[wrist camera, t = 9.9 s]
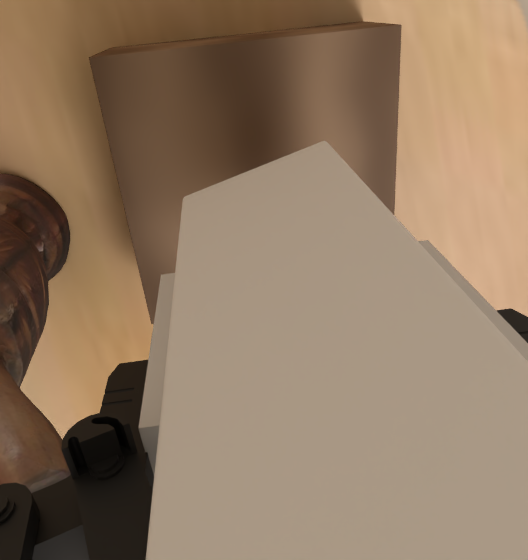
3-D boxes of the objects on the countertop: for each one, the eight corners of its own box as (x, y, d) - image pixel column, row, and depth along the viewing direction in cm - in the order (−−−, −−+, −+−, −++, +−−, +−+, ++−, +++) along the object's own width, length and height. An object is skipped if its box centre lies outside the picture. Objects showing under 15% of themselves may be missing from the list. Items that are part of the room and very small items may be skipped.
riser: (158, 275, 34) (151, 323, 29) (110, 48, 27) (88, 57, 22) (362, 248, 35) (391, 291, 30) (363, 21, 28) (401, 24, 23)
